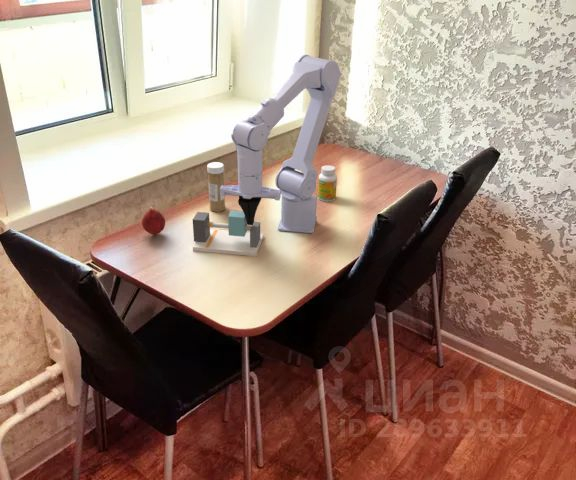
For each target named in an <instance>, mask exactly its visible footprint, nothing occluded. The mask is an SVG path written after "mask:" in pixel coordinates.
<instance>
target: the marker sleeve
mask: <svg viewBox="0 0 576 480" xmlns="http://www.w3.org/2000/svg"><path fill="white" fill-rule="evenodd" d="M227 221H228V222H227V224H228V228H229V229H228V231H229V235H230V236H241V237H245V234H246V232H248V230H245V225H247V220H246V217H245V214H244V212H243V210H242V211H240V210H230V212H229V214H228V216H227ZM247 226H248V225H247Z"/></svg>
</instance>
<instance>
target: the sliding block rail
mask: <svg viewBox="0 0 576 480" xmlns="http://www.w3.org/2000/svg"><path fill="white" fill-rule="evenodd" d="M215 228H216V229H215ZM192 229H193V230H192V231H193V242H195V243H194V244H193V246H192V251H194V252H203V253H205V252H206V253H214V254H216V253H217V254H225V255H239V256H246V257H247V256H248V257H257V255H258V253H259V251H260V248H261V245H262V243H263V241H264V237H265V235H264V233H261V222H260V221H254V223H253V225H245V230H247V232H246V234H245V237H241V236H230V235H229V228H228V223H223V222H222V223H221V222H213V221H210V212H205V211H204V212H203V211H197V212H196V213H195V215H194V216H193V218H192ZM223 229H224V230H223ZM225 229H228V230H225ZM248 231H249V232H248Z"/></svg>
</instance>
